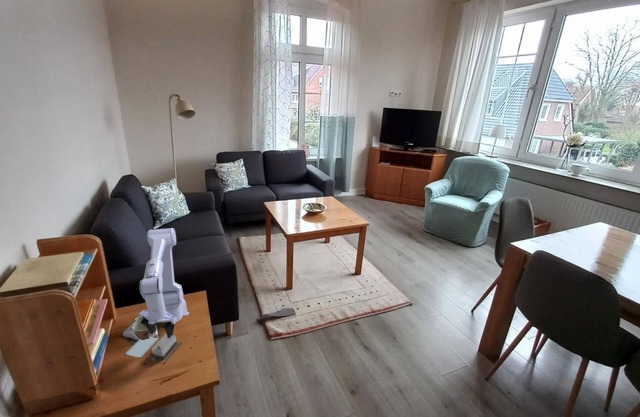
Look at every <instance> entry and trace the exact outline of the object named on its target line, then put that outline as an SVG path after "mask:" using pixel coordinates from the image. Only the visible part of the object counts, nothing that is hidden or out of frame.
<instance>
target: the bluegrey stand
mask: <svg viewBox="0 0 640 417" xmlns="http://www.w3.org/2000/svg"><path fill="white" fill-rule="evenodd" d="M149 337H150V338H149V339H145V340H141V339H139V340H136V341H137V342H135V343H134V344H133V345H132V346H131V347H130V348H129V349H128V350H127V351H126V352H125V354H124V355H127V356H131V357H135V358H139V359H142V357H143V356H144V355H145V354H146V353H147V352H148V351H149V350H150V349H152V348H153V347H152V346H154V344H156V343H157V342H158V340H160V339H159V337H153V336H149ZM151 347H152V348H151Z"/></svg>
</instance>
